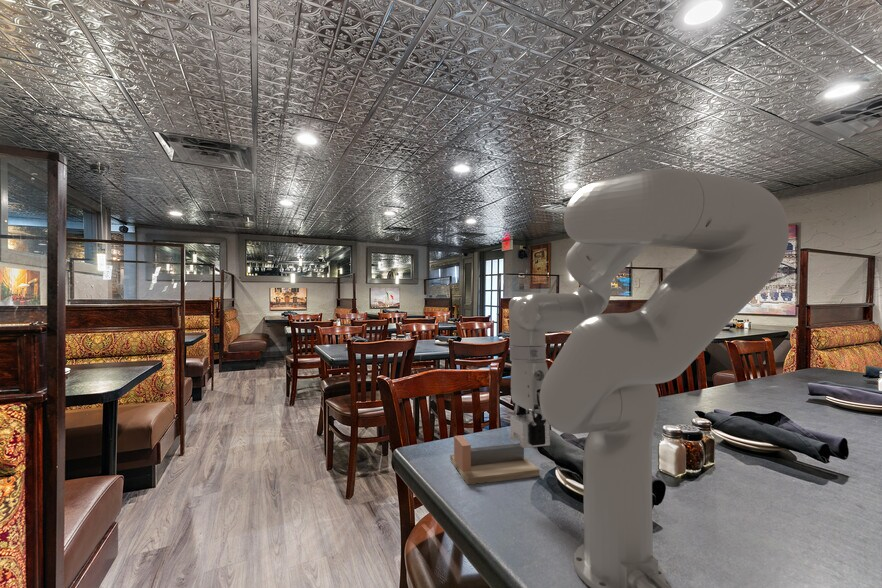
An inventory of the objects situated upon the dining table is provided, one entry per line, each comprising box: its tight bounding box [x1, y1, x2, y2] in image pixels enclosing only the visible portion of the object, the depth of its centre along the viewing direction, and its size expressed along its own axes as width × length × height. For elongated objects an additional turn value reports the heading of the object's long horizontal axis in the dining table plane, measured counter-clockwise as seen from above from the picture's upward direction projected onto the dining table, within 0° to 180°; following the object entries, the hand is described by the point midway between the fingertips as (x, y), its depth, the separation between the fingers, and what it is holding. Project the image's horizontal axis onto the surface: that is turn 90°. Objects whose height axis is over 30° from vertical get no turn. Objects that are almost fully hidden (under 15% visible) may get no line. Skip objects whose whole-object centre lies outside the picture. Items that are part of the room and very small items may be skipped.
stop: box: [453, 435, 472, 472], centre depth 94 cm, size 7×2×6 cm, turn 14°
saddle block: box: [509, 414, 551, 449], centre depth 82 cm, size 6×6×5 cm
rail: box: [471, 442, 525, 466], centre depth 96 cm, size 2×15×4 cm, turn 105°
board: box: [449, 454, 540, 486], centre depth 96 cm, size 14×18×2 cm
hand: (529, 438), depth 82 cm, fingers closed on saddle block, 6 cm apart
